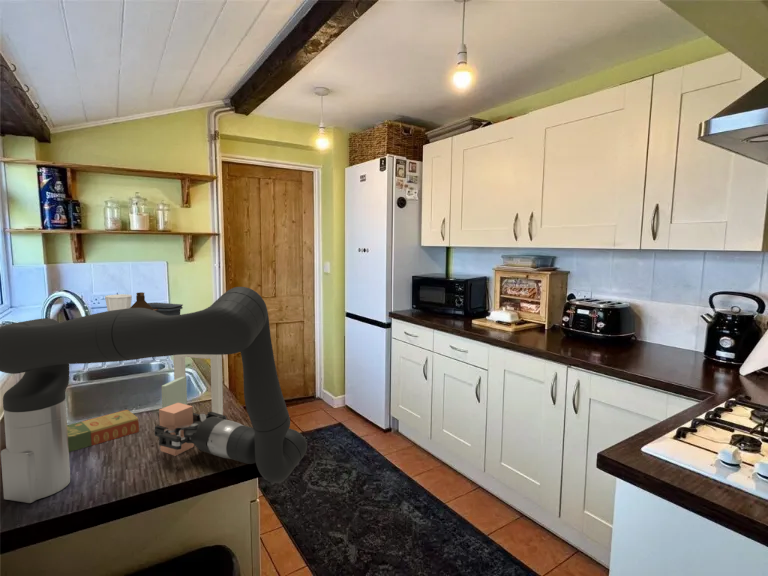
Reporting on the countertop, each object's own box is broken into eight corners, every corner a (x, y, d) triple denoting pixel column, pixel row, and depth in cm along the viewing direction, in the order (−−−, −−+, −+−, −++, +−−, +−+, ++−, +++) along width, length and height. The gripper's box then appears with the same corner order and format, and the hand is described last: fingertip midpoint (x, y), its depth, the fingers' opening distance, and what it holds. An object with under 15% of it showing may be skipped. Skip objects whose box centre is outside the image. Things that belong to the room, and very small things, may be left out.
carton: (139, 433, 108) (139, 417, 107) (62, 456, 96) (61, 438, 95) (128, 423, 113) (127, 408, 113) (54, 444, 101) (52, 426, 101)
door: (163, 431, 107) (161, 385, 106) (183, 419, 115) (182, 376, 114) (167, 432, 107) (165, 386, 106) (187, 419, 114) (186, 376, 113)
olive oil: (126, 345, 198) (124, 292, 195) (151, 342, 205) (149, 291, 203) (132, 349, 190) (130, 294, 188) (158, 345, 197) (156, 293, 195)
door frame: (218, 424, 113) (217, 351, 111) (175, 420, 115) (173, 348, 113) (223, 421, 115) (221, 350, 113) (180, 417, 117) (178, 347, 115)
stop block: (175, 455, 96) (173, 413, 95) (160, 450, 98) (159, 409, 97) (193, 446, 100) (192, 406, 99) (179, 442, 103) (178, 402, 102)
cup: (108, 336, 215) (106, 294, 213) (134, 334, 220) (133, 293, 218) (104, 341, 205) (102, 297, 203) (132, 339, 209) (130, 296, 207)
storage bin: (186, 328, 238) (186, 303, 237) (167, 334, 223) (167, 307, 222) (153, 326, 242) (152, 302, 241) (132, 332, 227) (131, 305, 226)
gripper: (246, 410, 98) (197, 398, 105) (195, 434, 86) (143, 418, 92) (246, 440, 99) (198, 426, 106) (196, 469, 86) (144, 451, 93)
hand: (172, 423), depth 99 cm, fingers open, 8 cm apart
